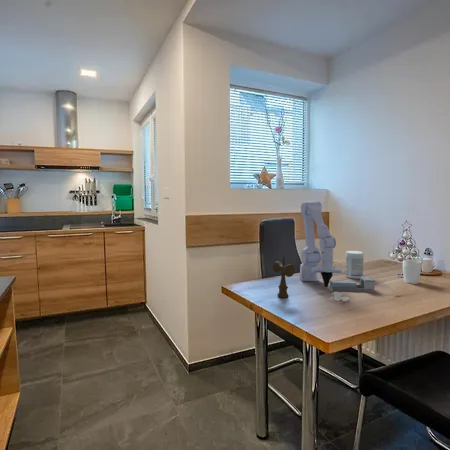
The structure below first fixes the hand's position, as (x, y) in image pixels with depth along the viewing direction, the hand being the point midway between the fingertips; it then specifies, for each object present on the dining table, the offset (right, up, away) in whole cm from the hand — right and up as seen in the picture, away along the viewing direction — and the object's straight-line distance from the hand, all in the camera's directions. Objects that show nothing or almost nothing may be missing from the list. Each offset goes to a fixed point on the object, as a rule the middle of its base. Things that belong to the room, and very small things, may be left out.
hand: (325, 286), depth 162 cm
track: (+12, -1, -1) cm, 12 cm away
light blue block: (+8, -1, -1) cm, 9 cm away
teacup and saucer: (+1, -4, -20) cm, 21 cm away
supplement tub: (+23, +1, +22) cm, 32 cm away
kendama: (-24, -3, -12) cm, 28 cm away
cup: (+50, 0, +11) cm, 52 cm away
